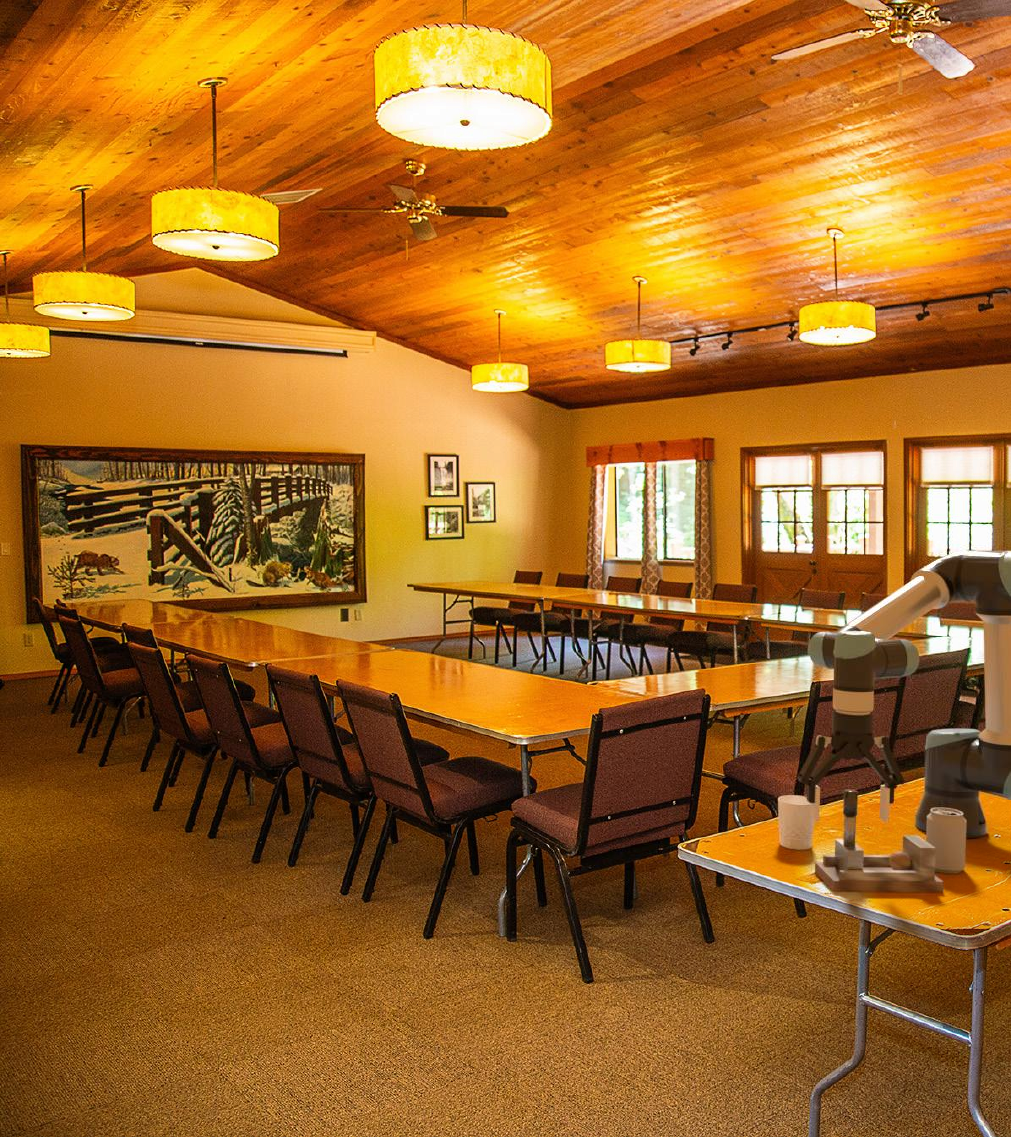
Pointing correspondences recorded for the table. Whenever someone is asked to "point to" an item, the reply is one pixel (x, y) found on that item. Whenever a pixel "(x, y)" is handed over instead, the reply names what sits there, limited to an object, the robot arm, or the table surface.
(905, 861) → the tan ball
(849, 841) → the ram
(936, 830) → the can
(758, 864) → the table surface
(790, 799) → the white cup
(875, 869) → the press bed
